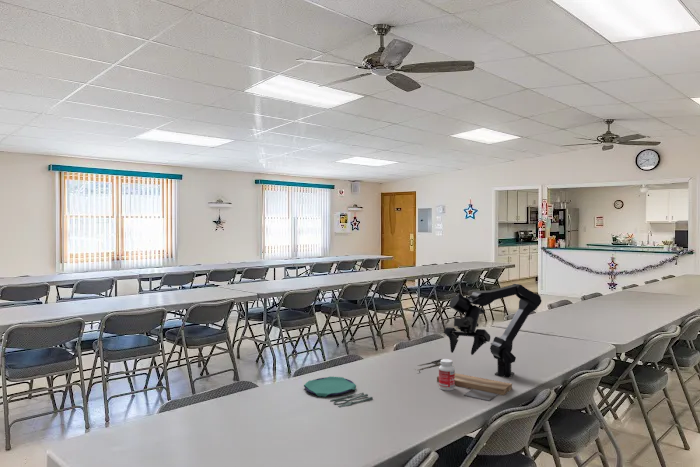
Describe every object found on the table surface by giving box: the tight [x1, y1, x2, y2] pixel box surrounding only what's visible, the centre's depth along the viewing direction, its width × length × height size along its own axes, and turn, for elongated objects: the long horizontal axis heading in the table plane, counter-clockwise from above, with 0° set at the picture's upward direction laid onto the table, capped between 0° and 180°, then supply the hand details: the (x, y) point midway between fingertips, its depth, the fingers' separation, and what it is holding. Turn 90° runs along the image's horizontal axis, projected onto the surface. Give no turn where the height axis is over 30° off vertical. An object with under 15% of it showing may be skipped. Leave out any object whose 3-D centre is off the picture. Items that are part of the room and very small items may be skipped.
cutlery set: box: [303, 376, 373, 408], centre depth 189 cm, size 20×30×2 cm, turn 30°
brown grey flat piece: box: [436, 372, 513, 402], centre depth 191 cm, size 18×28×2 cm, turn 52°
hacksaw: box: [414, 358, 443, 374], centre depth 221 cm, size 24×10×2 cm, turn 120°
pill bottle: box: [438, 358, 456, 391], centre depth 192 cm, size 6×6×11 cm
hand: (461, 353), depth 195 cm, fingers open, 9 cm apart
